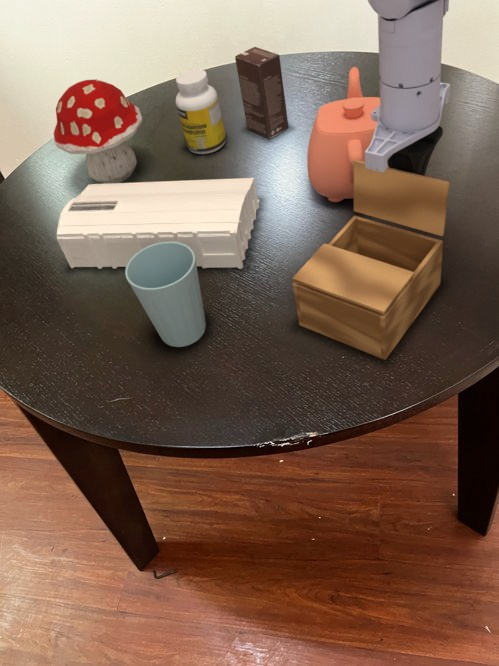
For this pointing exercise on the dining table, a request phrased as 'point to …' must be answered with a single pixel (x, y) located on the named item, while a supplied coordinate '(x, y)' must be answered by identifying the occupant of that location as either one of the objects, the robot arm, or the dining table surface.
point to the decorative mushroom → (98, 129)
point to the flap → (401, 197)
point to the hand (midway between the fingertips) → (408, 192)
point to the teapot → (341, 141)
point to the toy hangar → (159, 221)
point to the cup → (169, 291)
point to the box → (262, 91)
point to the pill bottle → (199, 112)
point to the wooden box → (368, 285)
